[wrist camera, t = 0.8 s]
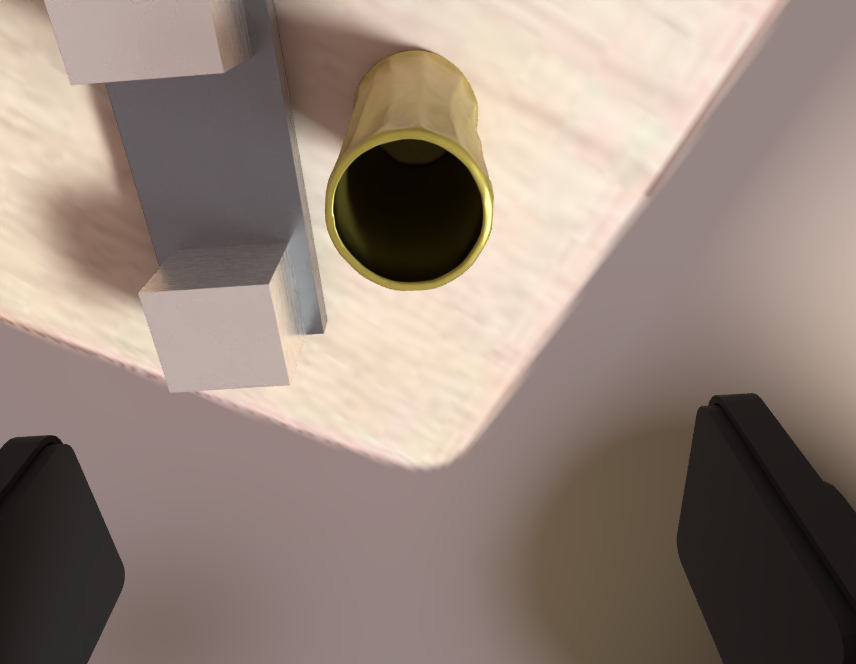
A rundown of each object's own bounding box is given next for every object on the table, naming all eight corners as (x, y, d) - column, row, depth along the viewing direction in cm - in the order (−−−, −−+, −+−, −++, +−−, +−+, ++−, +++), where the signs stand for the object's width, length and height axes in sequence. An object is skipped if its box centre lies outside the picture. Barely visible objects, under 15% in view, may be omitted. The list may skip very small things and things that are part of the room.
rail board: (75, -73, 29) (-11, -79, 23) (258, -89, 28) (216, -99, 23) (190, 329, 39) (150, 393, 33) (327, 320, 38) (310, 383, 33)
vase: (436, 199, 35) (442, 334, 22) (331, 138, 33) (275, 247, 21) (501, 94, 32) (549, 182, 20) (391, 23, 31) (367, 69, 18)
